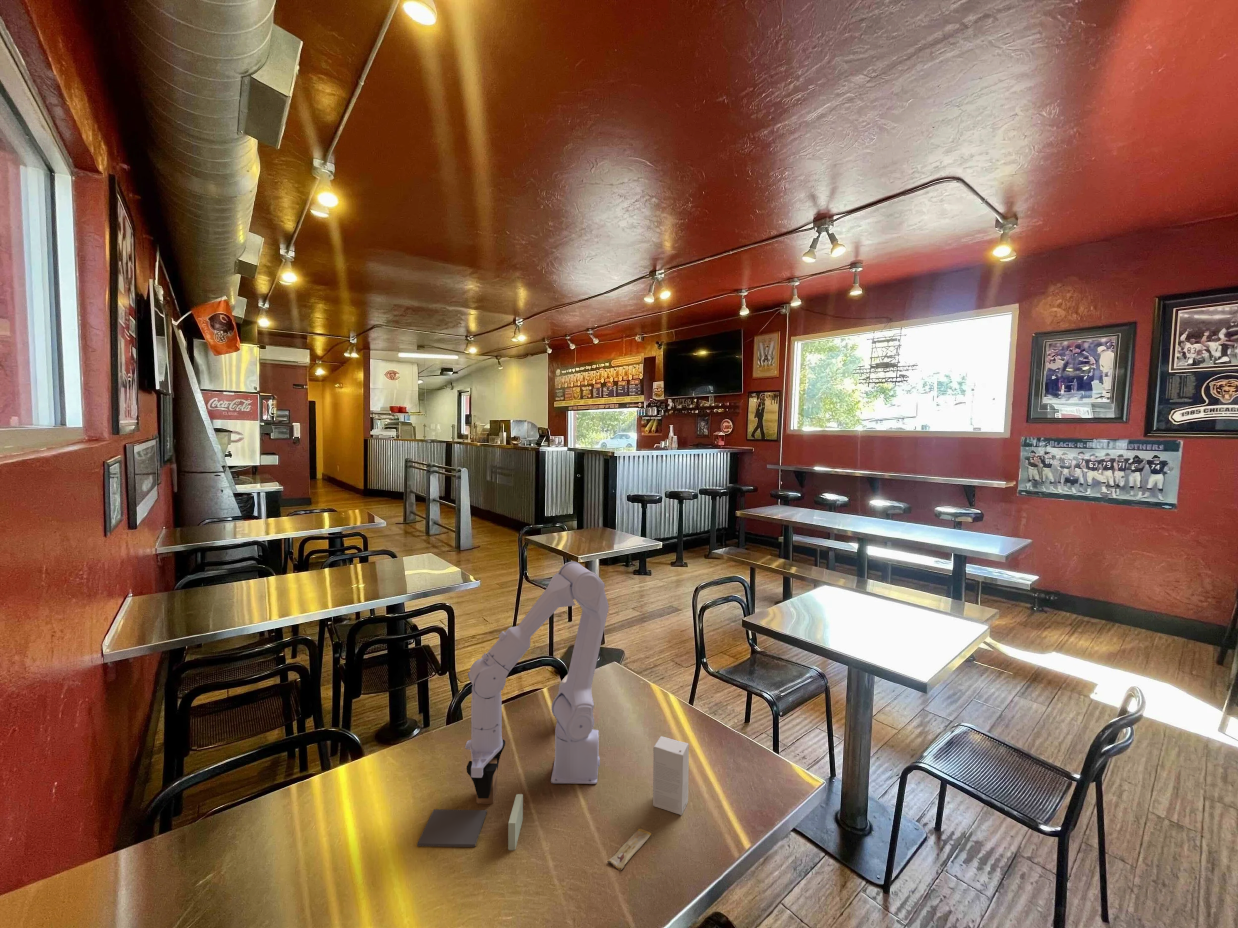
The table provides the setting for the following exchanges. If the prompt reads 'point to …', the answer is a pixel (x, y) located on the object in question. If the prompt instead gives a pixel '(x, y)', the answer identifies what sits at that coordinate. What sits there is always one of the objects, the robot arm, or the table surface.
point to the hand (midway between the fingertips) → (486, 788)
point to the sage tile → (515, 822)
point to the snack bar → (629, 848)
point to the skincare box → (670, 775)
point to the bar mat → (452, 828)
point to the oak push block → (493, 788)
